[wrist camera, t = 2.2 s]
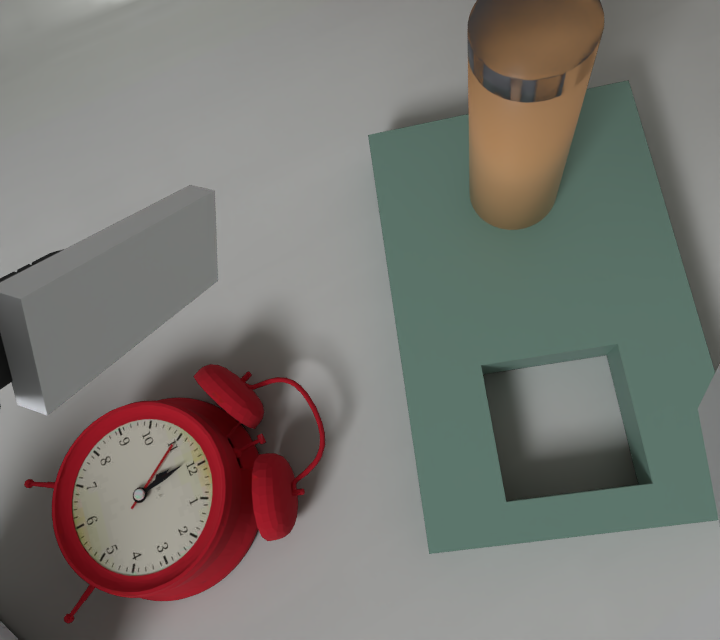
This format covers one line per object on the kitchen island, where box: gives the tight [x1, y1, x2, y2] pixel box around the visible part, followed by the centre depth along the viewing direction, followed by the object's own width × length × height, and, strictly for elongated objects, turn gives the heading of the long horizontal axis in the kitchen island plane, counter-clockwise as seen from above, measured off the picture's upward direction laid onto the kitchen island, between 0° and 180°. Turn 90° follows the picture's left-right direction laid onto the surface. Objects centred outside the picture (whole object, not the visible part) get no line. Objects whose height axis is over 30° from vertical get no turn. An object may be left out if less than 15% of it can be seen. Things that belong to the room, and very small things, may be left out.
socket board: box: [368, 80, 719, 554], centre depth 31 cm, size 22×14×2 cm, turn 7°
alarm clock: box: [24, 364, 325, 623], centre depth 31 cm, size 10×6×15 cm
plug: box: [468, 0, 604, 230], centre depth 26 cm, size 4×4×12 cm
